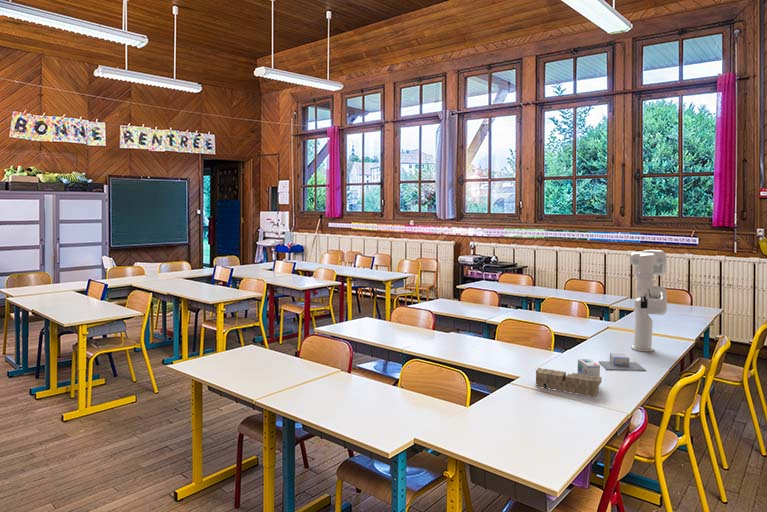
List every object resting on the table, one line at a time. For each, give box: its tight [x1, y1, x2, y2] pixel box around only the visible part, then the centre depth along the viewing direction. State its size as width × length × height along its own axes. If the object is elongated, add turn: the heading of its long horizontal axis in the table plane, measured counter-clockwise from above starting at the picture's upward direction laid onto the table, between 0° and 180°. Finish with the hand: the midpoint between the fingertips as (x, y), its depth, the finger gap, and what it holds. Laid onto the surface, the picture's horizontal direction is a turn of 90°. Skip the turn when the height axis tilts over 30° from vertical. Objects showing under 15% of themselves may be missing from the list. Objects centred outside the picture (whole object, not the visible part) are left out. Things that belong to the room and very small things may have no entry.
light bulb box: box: [576, 358, 601, 377], centre depth 262 cm, size 11×7×11 cm, turn 5°
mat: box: [598, 360, 647, 372], centre depth 290 cm, size 14×20×1 cm
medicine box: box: [609, 352, 630, 366], centre depth 293 cm, size 8×4×9 cm
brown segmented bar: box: [535, 367, 603, 397], centre depth 253 cm, size 8×8×29 cm
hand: (643, 308), depth 303 cm, fingers closed
